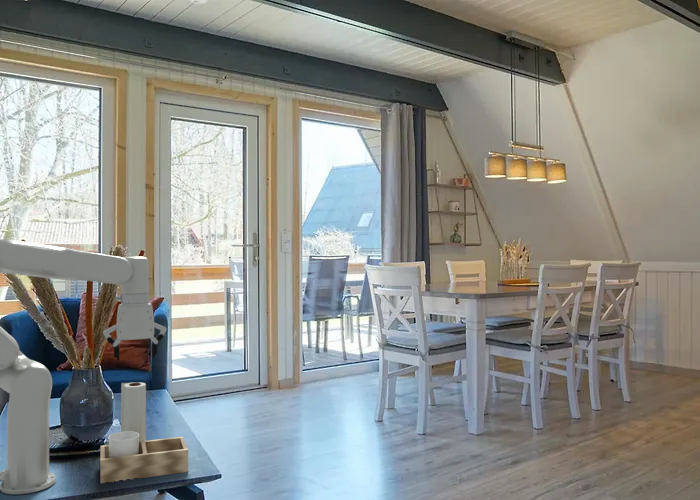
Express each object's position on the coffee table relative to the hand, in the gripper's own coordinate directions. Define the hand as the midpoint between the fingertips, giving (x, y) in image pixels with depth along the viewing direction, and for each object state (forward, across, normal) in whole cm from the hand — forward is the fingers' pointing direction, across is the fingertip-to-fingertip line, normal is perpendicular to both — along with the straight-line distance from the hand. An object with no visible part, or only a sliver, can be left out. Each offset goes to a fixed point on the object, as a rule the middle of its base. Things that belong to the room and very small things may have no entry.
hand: (135, 358), depth 175 cm
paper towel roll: (+29, -1, 0) cm, 29 cm away
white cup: (+29, -4, -11) cm, 31 cm away
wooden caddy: (+28, +1, -11) cm, 31 cm away
